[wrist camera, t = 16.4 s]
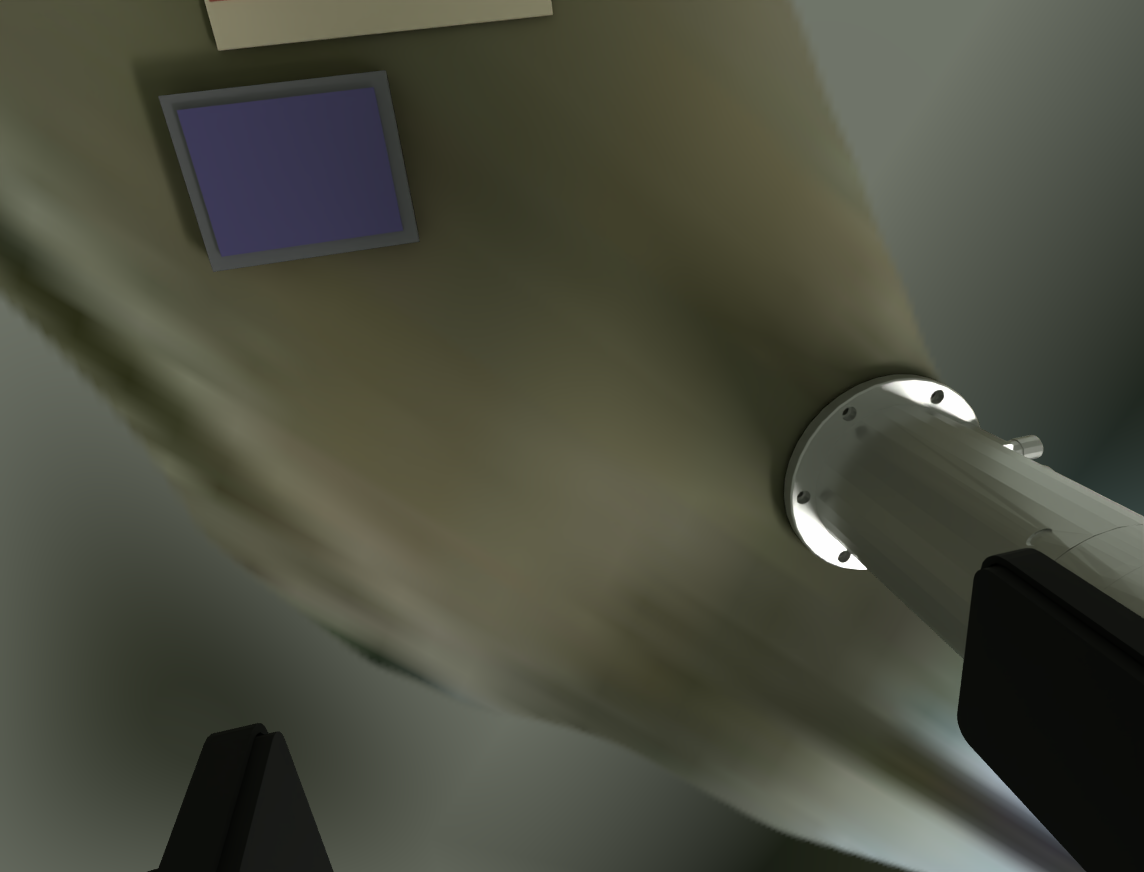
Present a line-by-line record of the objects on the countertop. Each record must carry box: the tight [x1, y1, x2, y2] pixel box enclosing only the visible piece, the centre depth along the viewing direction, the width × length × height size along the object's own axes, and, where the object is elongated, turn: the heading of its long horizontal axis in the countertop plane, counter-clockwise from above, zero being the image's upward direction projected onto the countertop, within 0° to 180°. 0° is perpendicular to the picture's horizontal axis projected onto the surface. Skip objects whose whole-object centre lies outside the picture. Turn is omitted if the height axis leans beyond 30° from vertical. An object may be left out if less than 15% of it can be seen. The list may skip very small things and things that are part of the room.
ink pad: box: [158, 70, 419, 272], centre depth 31 cm, size 9×7×2 cm
